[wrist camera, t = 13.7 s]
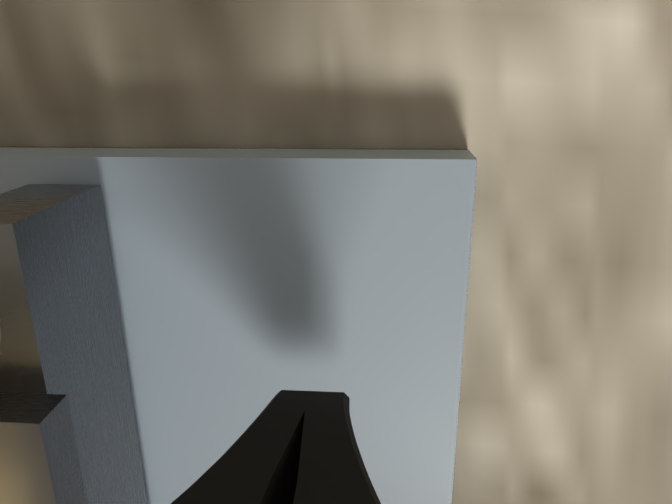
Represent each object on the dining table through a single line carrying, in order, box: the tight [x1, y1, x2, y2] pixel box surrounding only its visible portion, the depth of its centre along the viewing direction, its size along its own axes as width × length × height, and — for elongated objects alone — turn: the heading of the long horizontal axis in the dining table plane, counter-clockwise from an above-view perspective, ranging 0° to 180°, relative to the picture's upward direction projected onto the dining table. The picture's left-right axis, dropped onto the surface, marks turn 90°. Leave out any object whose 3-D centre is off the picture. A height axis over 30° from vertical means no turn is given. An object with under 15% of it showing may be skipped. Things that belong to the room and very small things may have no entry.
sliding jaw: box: [0, 184, 148, 504], centre depth 11 cm, size 2×9×4 cm, turn 1°
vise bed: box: [0, 147, 477, 504], centre depth 12 cm, size 15×10×4 cm, turn 90°
